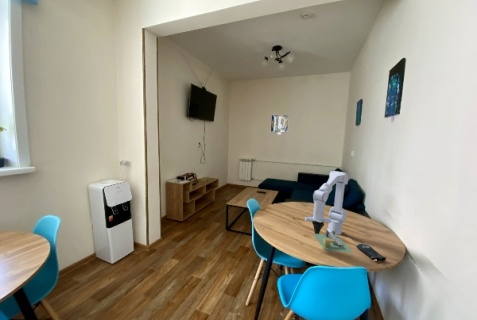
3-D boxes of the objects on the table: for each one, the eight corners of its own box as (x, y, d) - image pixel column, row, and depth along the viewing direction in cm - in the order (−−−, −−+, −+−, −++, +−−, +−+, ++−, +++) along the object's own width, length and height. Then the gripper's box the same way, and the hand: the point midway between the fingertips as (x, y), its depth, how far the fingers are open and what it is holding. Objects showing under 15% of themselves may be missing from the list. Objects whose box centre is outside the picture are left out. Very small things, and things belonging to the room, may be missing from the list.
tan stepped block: (322, 244, 119) (323, 237, 118) (333, 245, 119) (333, 238, 118) (324, 247, 116) (325, 240, 115) (335, 247, 116) (336, 241, 115)
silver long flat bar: (327, 233, 130) (328, 231, 130) (331, 233, 130) (331, 232, 130) (338, 244, 115) (338, 243, 115) (342, 245, 115) (342, 243, 115)
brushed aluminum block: (328, 239, 125) (329, 237, 125) (336, 240, 125) (337, 237, 125) (332, 244, 119) (333, 241, 119) (341, 245, 119) (341, 242, 119)
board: (312, 235, 132) (313, 228, 132) (337, 237, 132) (338, 229, 131) (324, 252, 113) (325, 244, 112) (353, 254, 112) (354, 246, 111)
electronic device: (386, 264, 107) (367, 245, 122) (387, 255, 106) (367, 238, 120) (370, 266, 107) (352, 247, 121) (371, 257, 105) (353, 239, 120)
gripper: (308, 212, 112) (306, 235, 113) (334, 214, 111) (332, 237, 112) (304, 208, 119) (302, 230, 120) (329, 210, 118) (327, 231, 119)
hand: (316, 233), depth 117 cm, fingers closed
